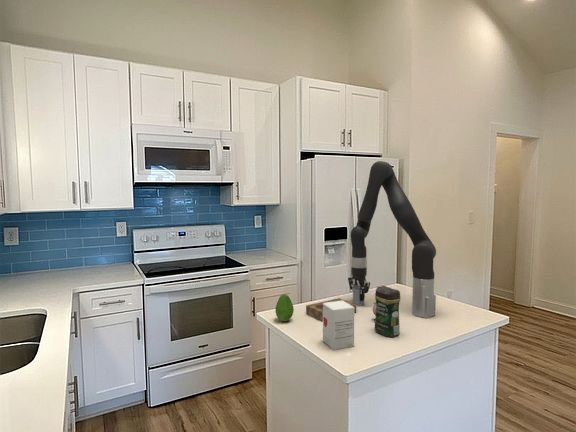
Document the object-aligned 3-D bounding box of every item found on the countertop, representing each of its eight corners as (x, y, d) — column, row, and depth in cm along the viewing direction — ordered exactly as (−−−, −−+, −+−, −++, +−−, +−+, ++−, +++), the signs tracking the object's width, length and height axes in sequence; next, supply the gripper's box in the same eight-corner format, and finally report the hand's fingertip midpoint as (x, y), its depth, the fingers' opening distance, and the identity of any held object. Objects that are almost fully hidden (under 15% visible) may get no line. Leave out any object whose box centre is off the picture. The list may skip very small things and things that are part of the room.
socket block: (356, 313, 174) (356, 303, 174) (322, 321, 163) (322, 311, 163) (339, 306, 184) (339, 297, 184) (306, 313, 173) (306, 304, 173)
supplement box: (321, 340, 143) (321, 302, 142) (342, 337, 147) (342, 299, 145) (333, 350, 135) (333, 309, 134) (354, 346, 138) (355, 306, 137)
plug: (364, 304, 186) (364, 284, 186) (358, 305, 184) (358, 285, 183) (358, 302, 190) (359, 283, 189) (352, 303, 188) (353, 284, 187)
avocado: (279, 325, 159) (279, 297, 158) (273, 319, 167) (272, 292, 166) (296, 322, 162) (296, 295, 161) (289, 316, 170) (289, 290, 169)
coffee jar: (371, 330, 153) (371, 286, 151) (385, 327, 157) (385, 283, 155) (388, 339, 145) (389, 291, 143) (403, 334, 149) (404, 288, 147)
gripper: (375, 267, 181) (374, 302, 183) (354, 262, 193) (354, 295, 195) (363, 269, 177) (363, 305, 179) (343, 264, 189) (343, 297, 191)
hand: (358, 299), depth 187 cm, fingers closed on plug, 4 cm apart
